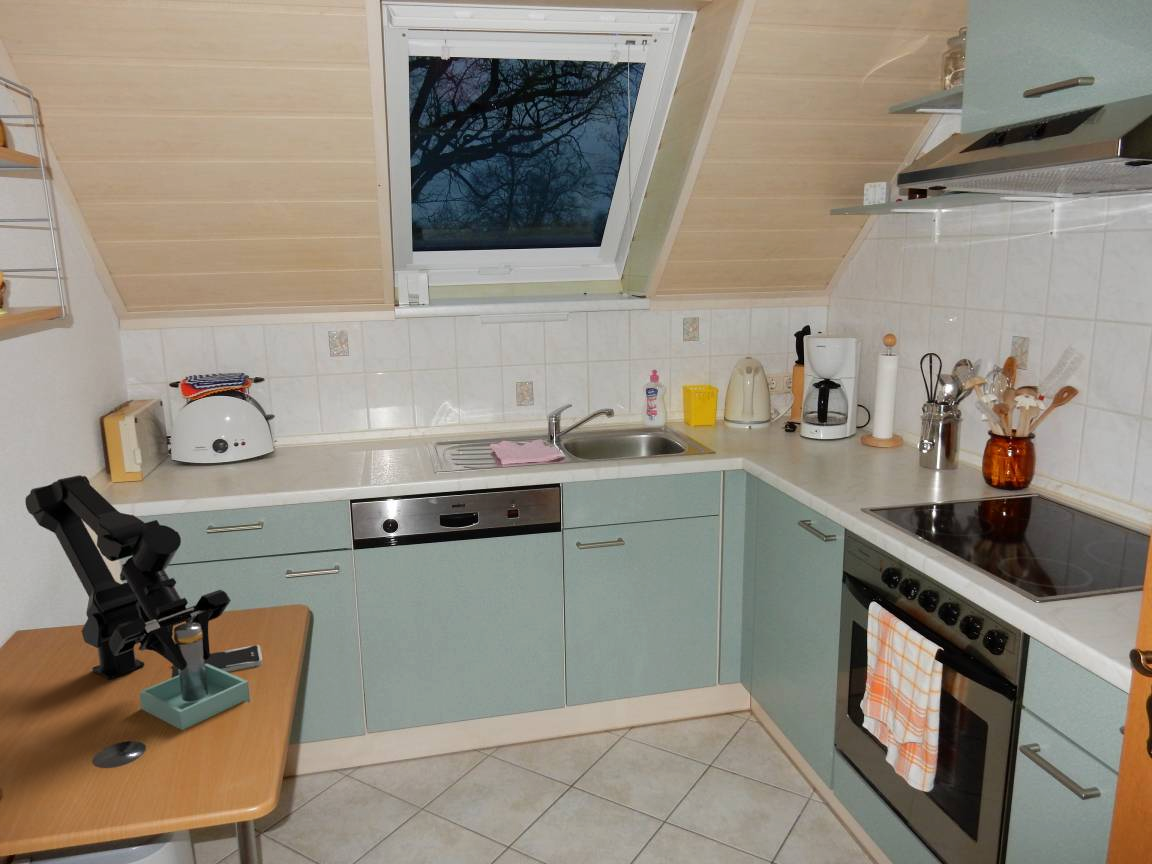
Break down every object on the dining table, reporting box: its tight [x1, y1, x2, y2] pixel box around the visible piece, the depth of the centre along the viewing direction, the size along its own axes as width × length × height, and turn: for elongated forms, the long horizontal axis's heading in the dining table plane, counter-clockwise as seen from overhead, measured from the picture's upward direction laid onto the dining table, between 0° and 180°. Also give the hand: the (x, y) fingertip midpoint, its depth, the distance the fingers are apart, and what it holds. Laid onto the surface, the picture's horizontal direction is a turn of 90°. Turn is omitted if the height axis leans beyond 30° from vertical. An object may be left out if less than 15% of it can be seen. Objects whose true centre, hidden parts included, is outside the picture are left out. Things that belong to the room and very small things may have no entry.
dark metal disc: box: [92, 740, 147, 769], centre depth 128 cm, size 7×7×1 cm
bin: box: [138, 664, 251, 731], centre depth 142 cm, size 12×12×4 cm
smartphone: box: [172, 644, 264, 678], centre depth 157 cm, size 8×1×15 cm
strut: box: [173, 622, 208, 702], centre depth 141 cm, size 4×4×12 cm
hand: (196, 663), depth 140 cm, fingers closed on strut, 4 cm apart
